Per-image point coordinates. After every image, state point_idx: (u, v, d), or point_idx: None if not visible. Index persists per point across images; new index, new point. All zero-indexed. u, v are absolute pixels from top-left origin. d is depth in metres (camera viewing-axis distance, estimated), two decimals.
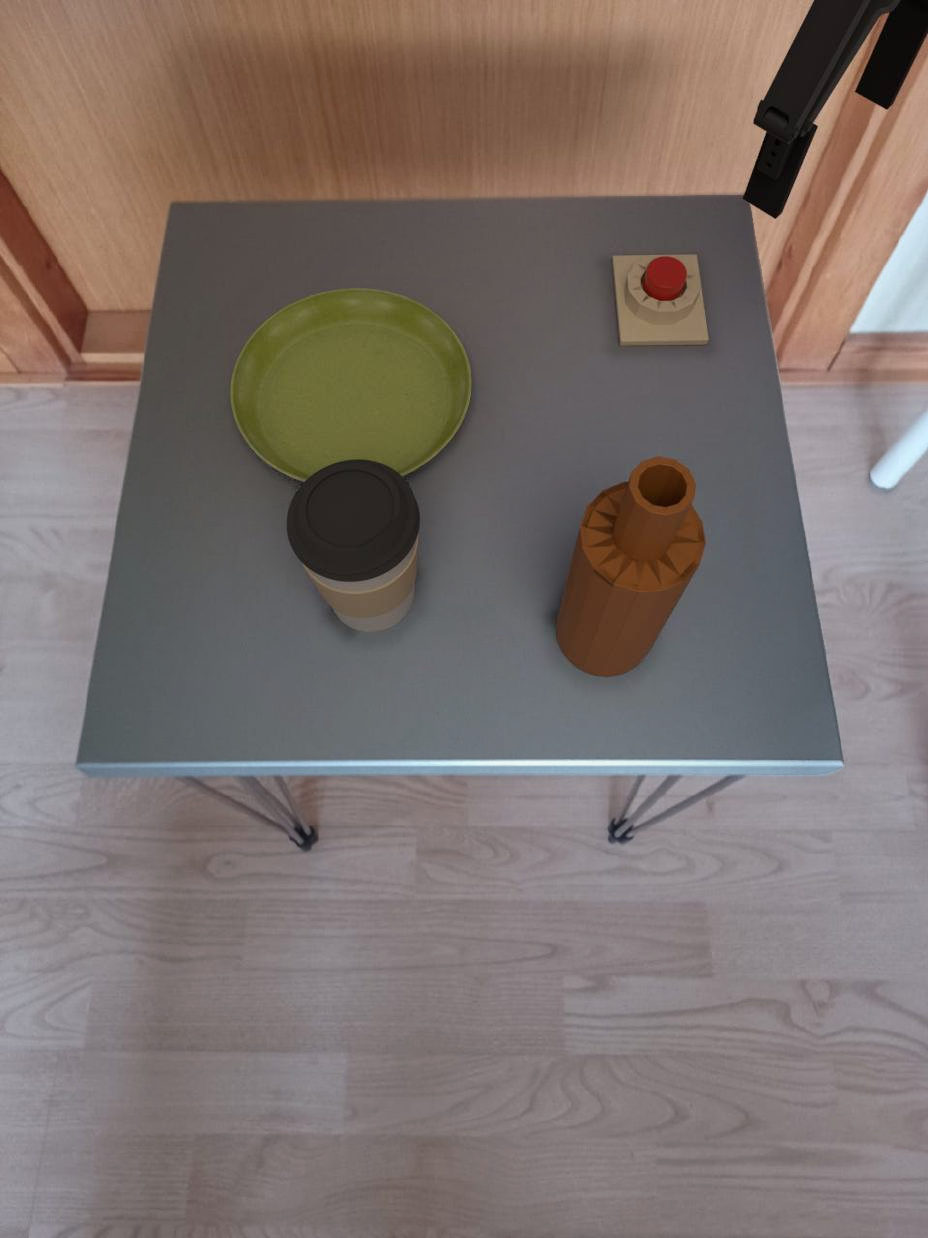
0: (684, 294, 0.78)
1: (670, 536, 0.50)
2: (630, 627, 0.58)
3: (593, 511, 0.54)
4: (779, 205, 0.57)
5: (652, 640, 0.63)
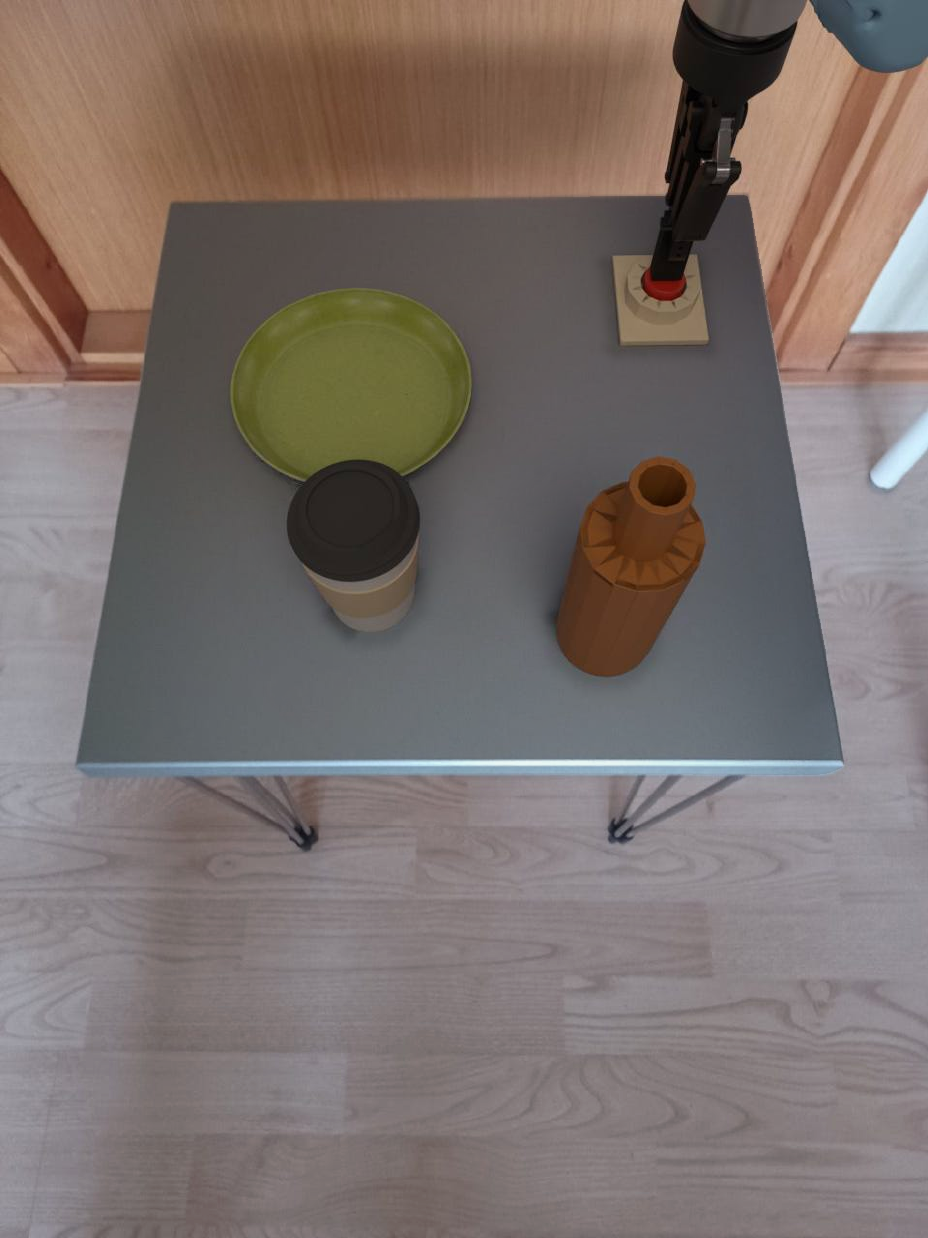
0: (684, 294, 0.78)
1: (670, 536, 0.50)
2: (630, 627, 0.58)
3: (593, 511, 0.54)
4: (682, 271, 0.77)
5: (652, 640, 0.63)
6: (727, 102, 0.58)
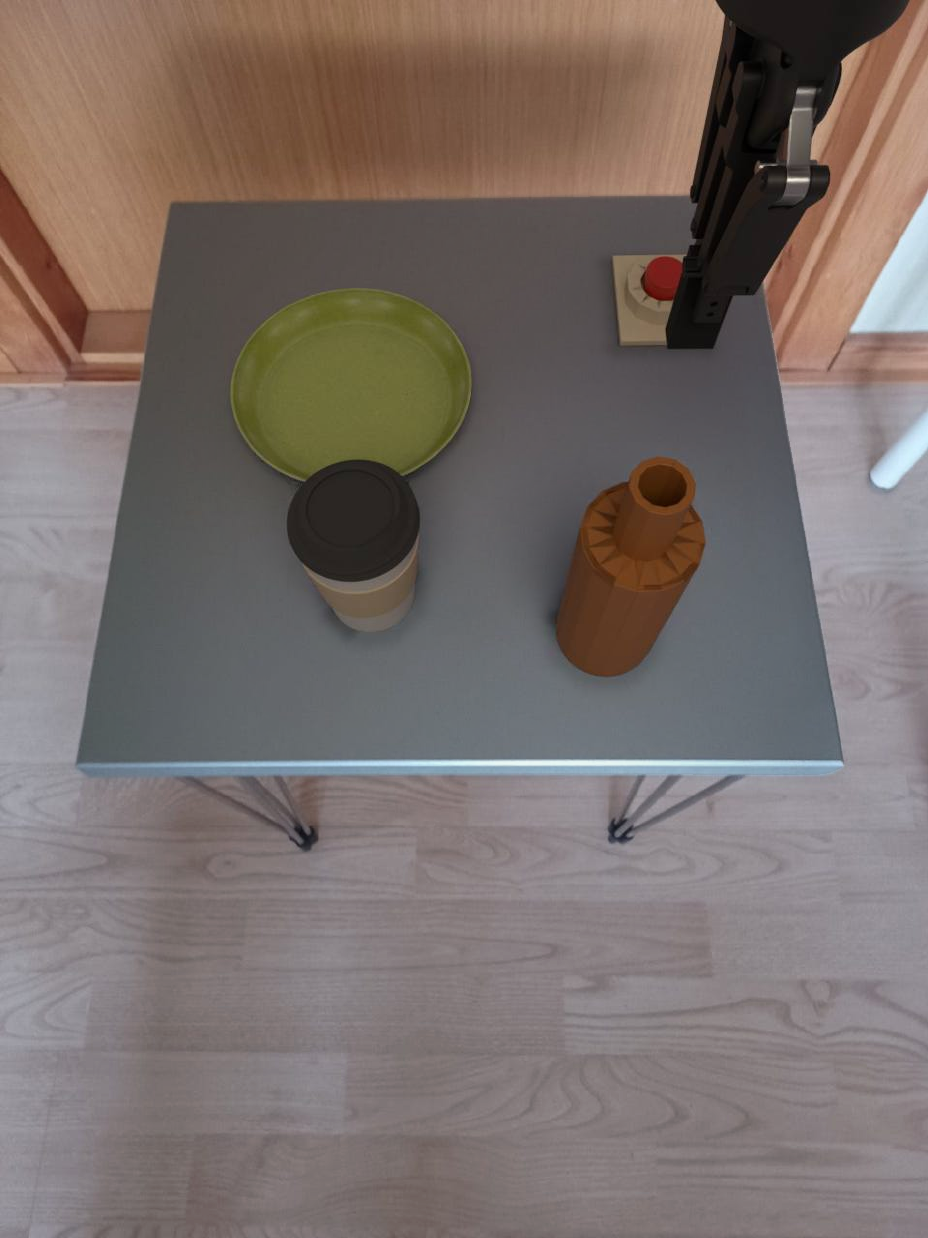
0: None
1: (670, 536, 0.50)
2: (630, 627, 0.58)
3: (593, 511, 0.54)
4: (715, 336, 0.50)
5: (652, 640, 0.63)
6: (809, 58, 0.32)
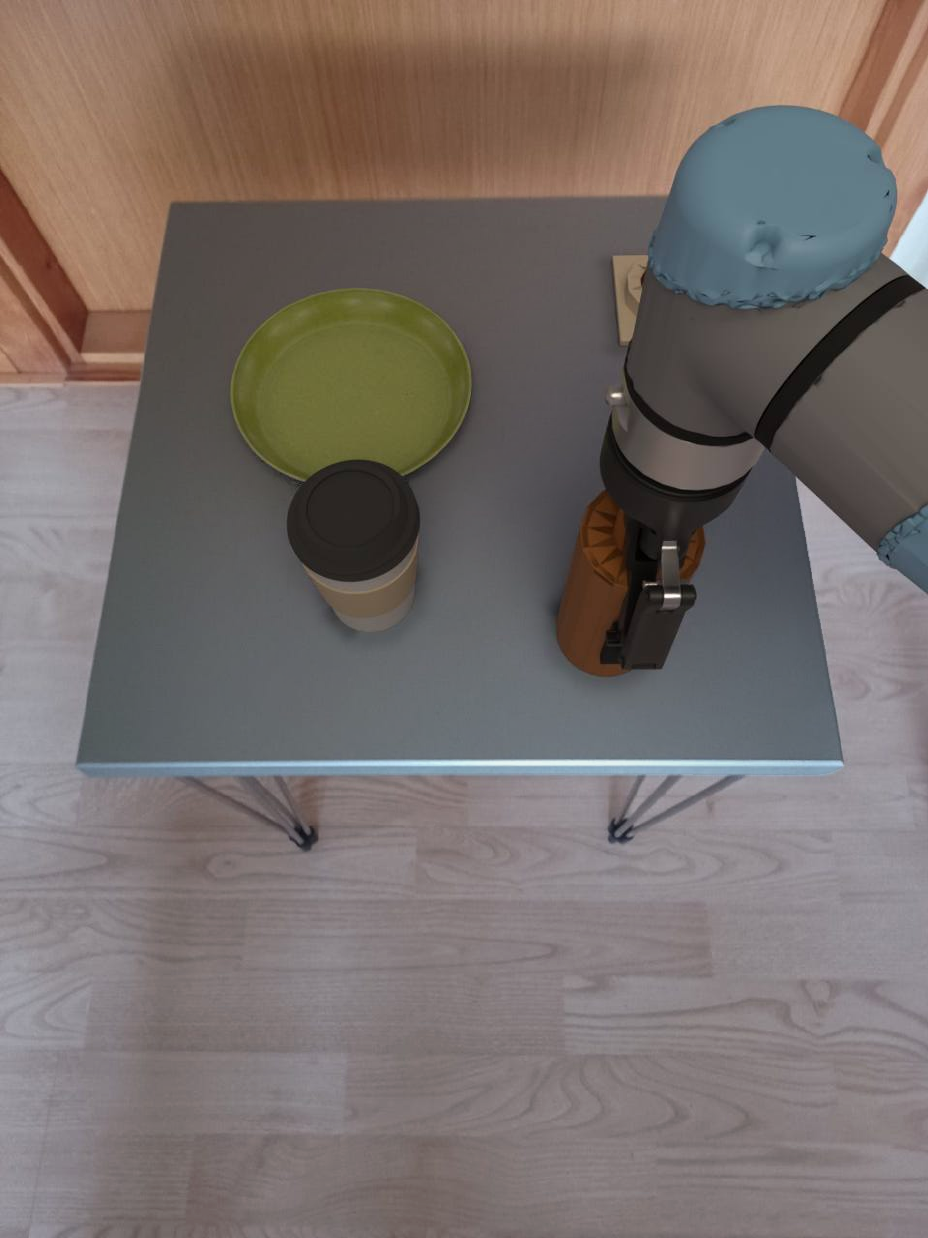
0: None
1: None
2: None
3: (593, 511, 0.54)
4: None
5: None
6: (669, 533, 0.45)
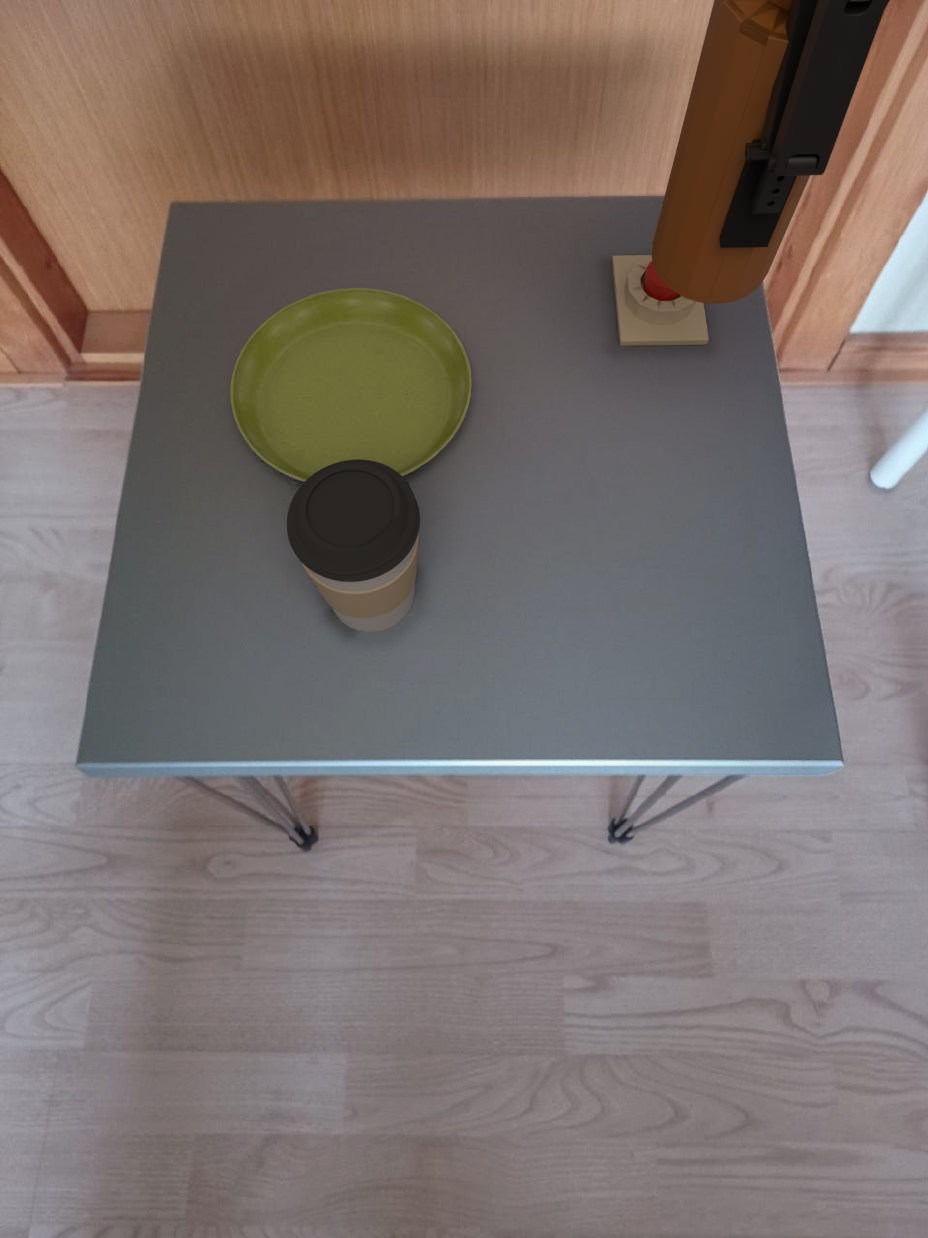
0: None
1: None
2: None
3: None
4: (771, 232, 0.49)
5: (784, 221, 0.50)
6: None
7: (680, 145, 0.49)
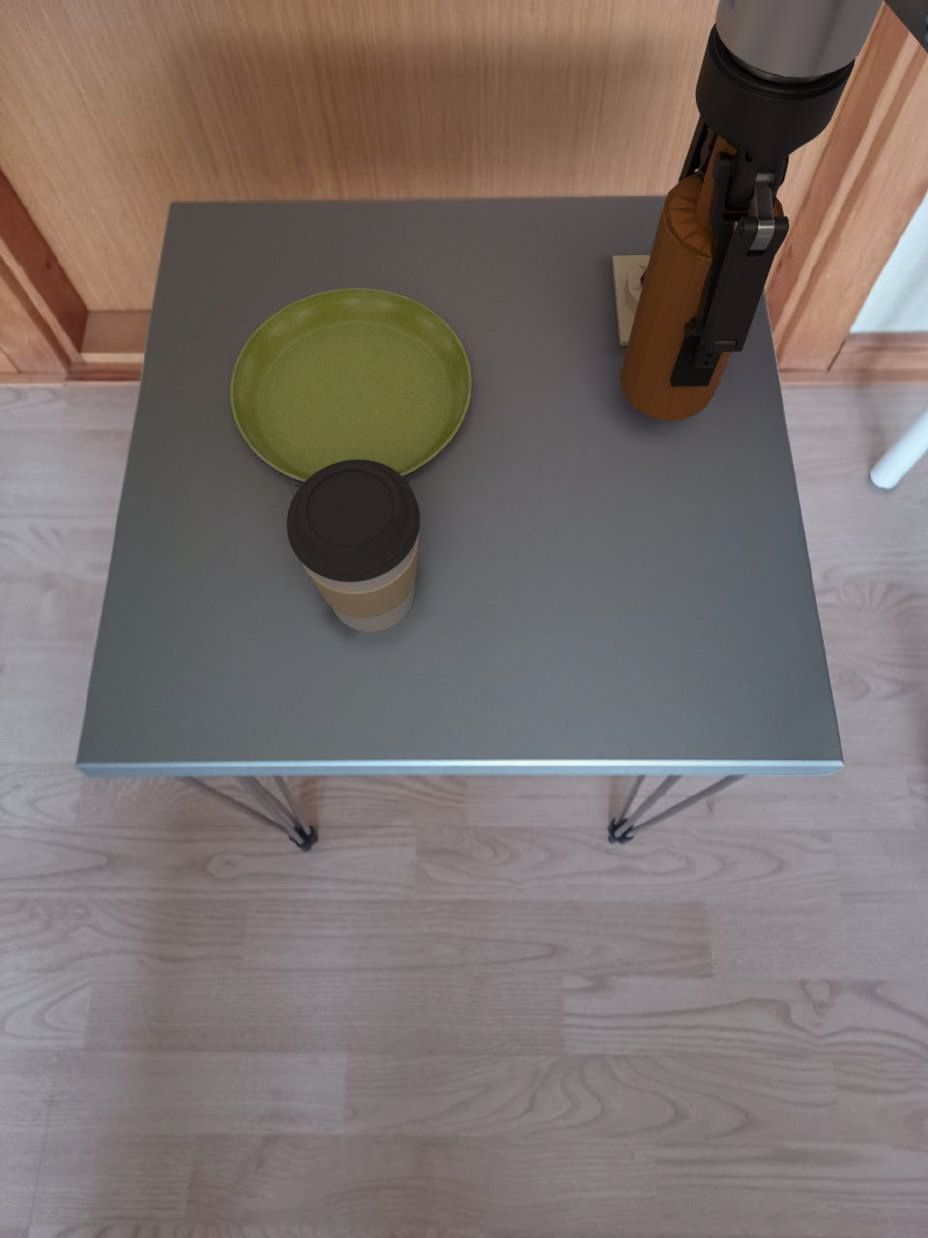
0: None
1: None
2: None
3: (675, 195, 0.55)
4: (710, 377, 0.63)
5: (721, 365, 0.64)
6: (764, 156, 0.46)
7: (639, 308, 0.63)
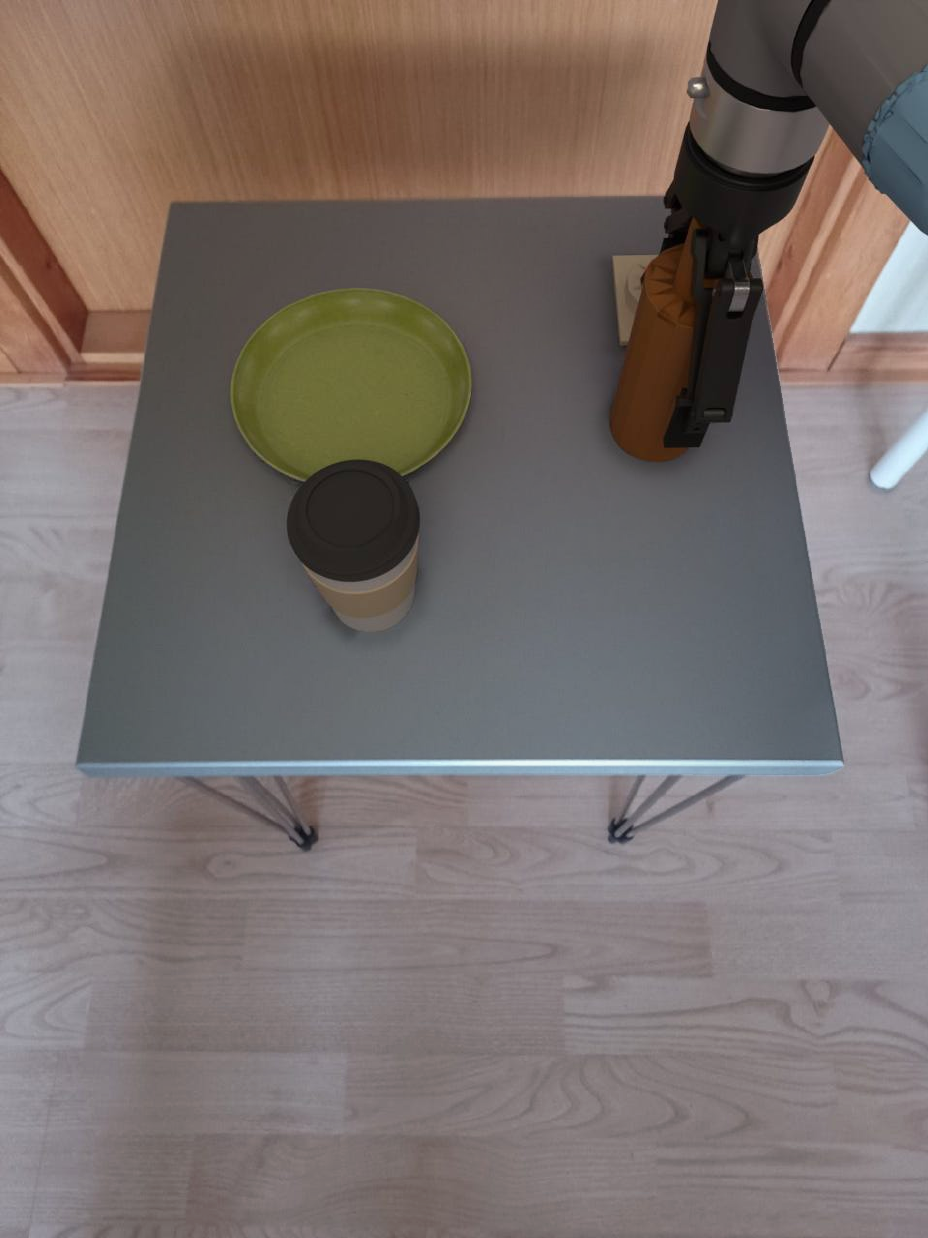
0: None
1: None
2: (685, 384, 0.65)
3: (656, 266, 0.61)
4: (701, 439, 0.65)
5: None
6: (735, 237, 0.52)
7: (625, 363, 0.68)
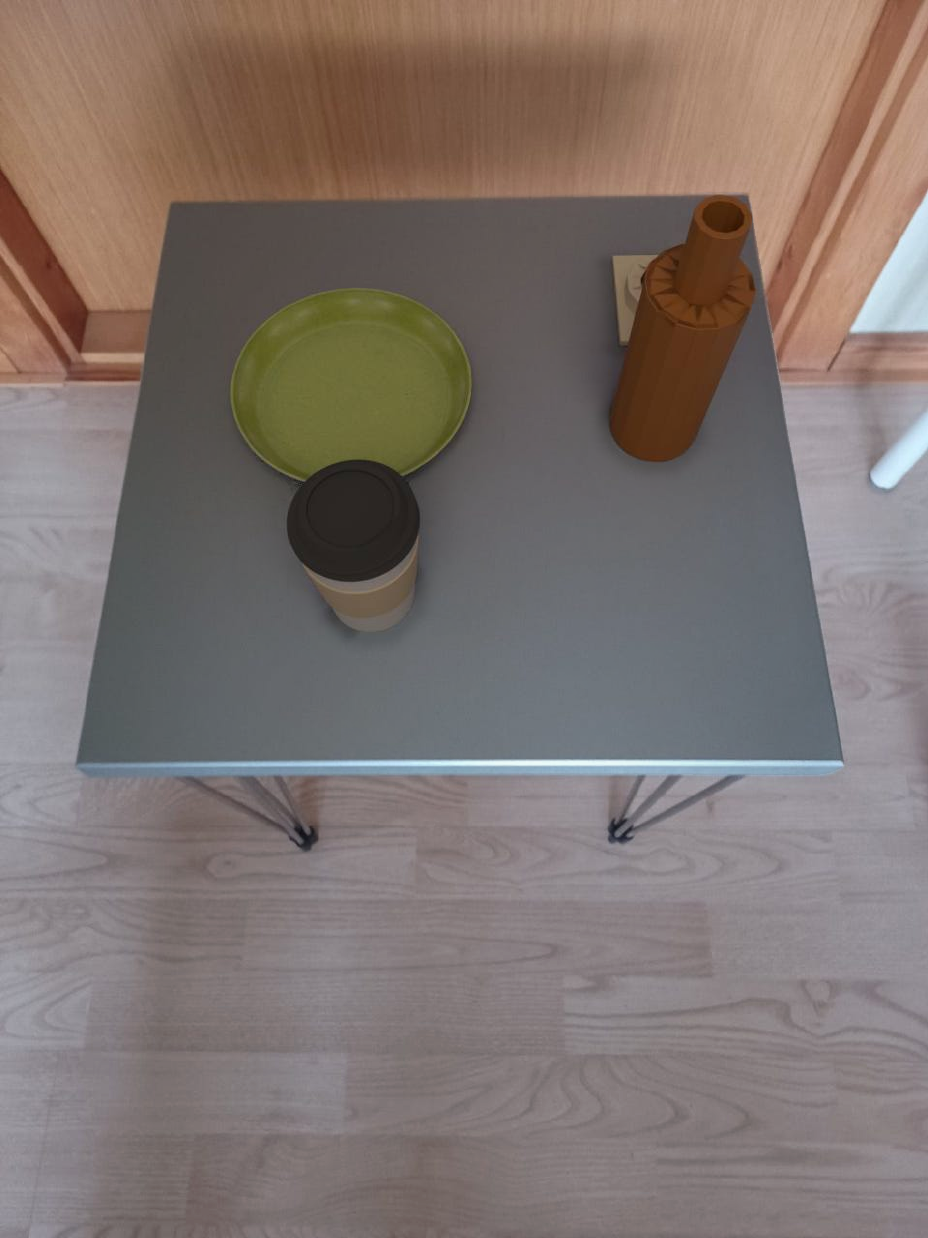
0: None
1: (727, 272, 0.57)
2: (685, 384, 0.65)
3: (656, 266, 0.61)
4: None
5: (701, 413, 0.70)
6: None
7: (625, 363, 0.68)
